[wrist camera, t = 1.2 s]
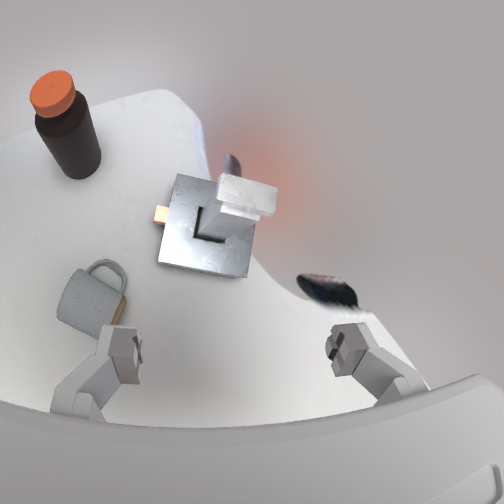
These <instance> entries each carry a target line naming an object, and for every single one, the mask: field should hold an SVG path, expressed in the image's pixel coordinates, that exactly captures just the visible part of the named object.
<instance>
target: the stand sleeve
mask: <svg viewBox="0 0 504 504" xmlns="http://www.w3.org/2000/svg"><path fill="white" fill-rule="evenodd" d="M216 186H217V183H215V182H212V181H208V180H203V179H199V178H195V177H191V176H187V175H182V174H178V173H177V177H176V180H175V183H174V187H173V191H172V195H171V199H170V204H169V208H167V207H163V206H158V205H157V210H156V214H155V218H154V223H156V224H160V225H165V226H164V231H163V236H162V241H161V246H160V251H159V256H158V262H157V264H161V265H166V266H171V267H176V268H181V269H186V270H192V271H197V272H202V273H207V274H213V275H218V276H224V277H229V278H247V274H248V268H249V261H250V255H251V248H252V242H253V235H254V230H255V223H254V224H253V225H251V226H249V227H247V228H245V229H243V230H242V231H240V232H238V233H236V234H234V235H232V236H231V237H229V238H227V239H225V240H223V241H222V242H220V243H214V242H209V241H205V240H200V239H195V238H192V237H193V232H194V227H195V222H196V217H197V214H198V213H199V211H200V210H201V209H202V207H203V206H204V205H205V203H206V202H207V201H208V199H209V198H210V197H211V195H212V194H213V193H214V192H215V190H216Z"/></svg>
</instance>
